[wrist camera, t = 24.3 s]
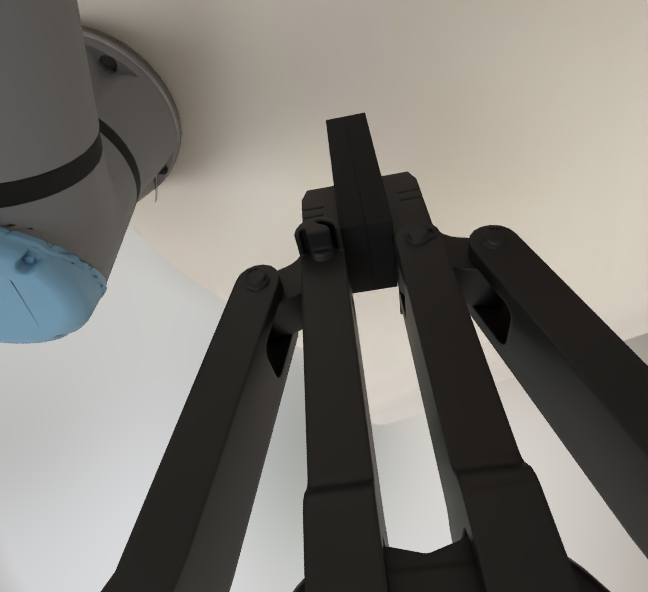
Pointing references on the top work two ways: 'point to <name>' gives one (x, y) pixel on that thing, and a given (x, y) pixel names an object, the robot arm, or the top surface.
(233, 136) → the top surface
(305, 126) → the top surface
